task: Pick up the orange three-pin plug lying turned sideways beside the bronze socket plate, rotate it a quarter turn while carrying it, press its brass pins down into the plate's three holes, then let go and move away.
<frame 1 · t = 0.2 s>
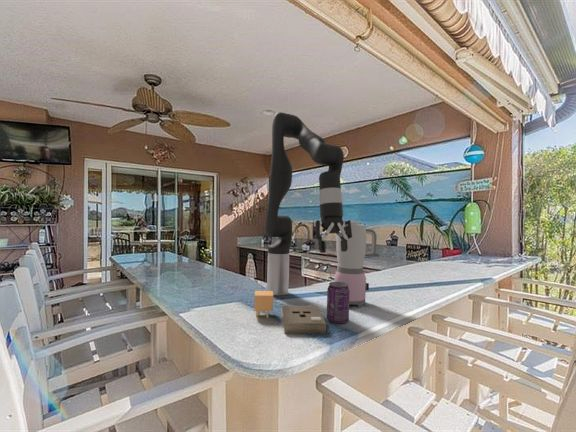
hand: (333, 252, 98), 22 cm above the countertop, tool pointing down, fingers open, 8 cm apart
beverage can: (337, 321, 97), on the countertop
plug: (263, 315, 100), on the countertop
blender: (353, 303, 117), on the countertop
socket plate: (301, 323, 94), on the countertop
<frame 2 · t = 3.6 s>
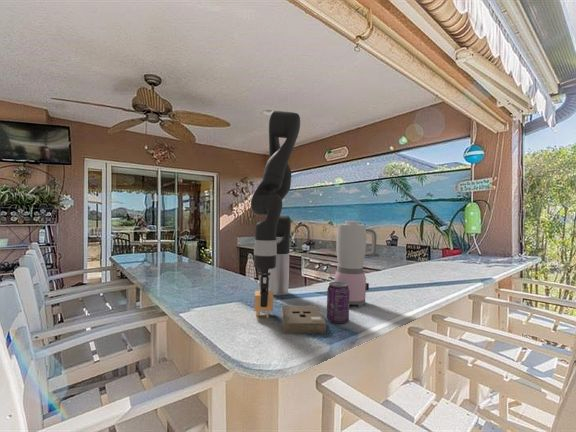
hand: (263, 303, 100), 4 cm above the countertop, tool pointing down, fingers closed on plug, 5 cm apart
plug: (263, 315, 100), on the countertop, touching gripper
everything else where it was.
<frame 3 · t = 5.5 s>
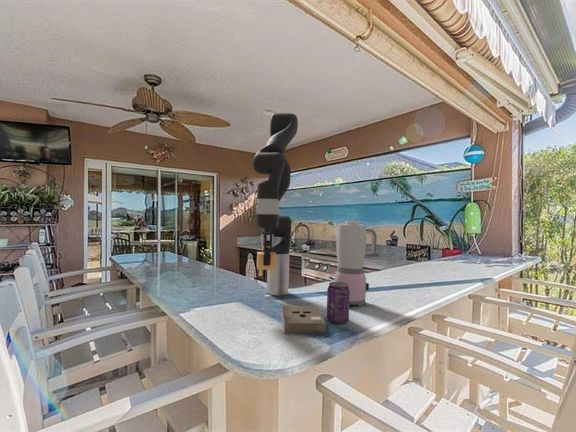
hand: (266, 263, 100), 17 cm above the countertop, tool pointing down, fingers closed on plug, 5 cm apart
plug: (265, 275, 100), point 13 cm above the countertop, touching gripper
everything else where it was.
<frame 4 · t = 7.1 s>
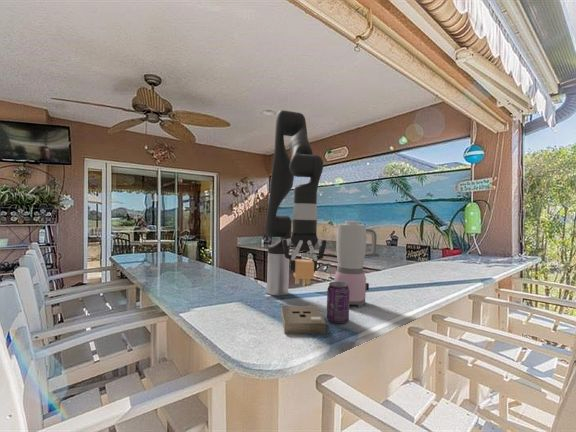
hand: (303, 272, 94), 16 cm above the countertop, tool pointing down, fingers closed on plug, 5 cm apart
plug: (303, 284, 94), point 12 cm above the countertop, touching gripper
everything else where it was.
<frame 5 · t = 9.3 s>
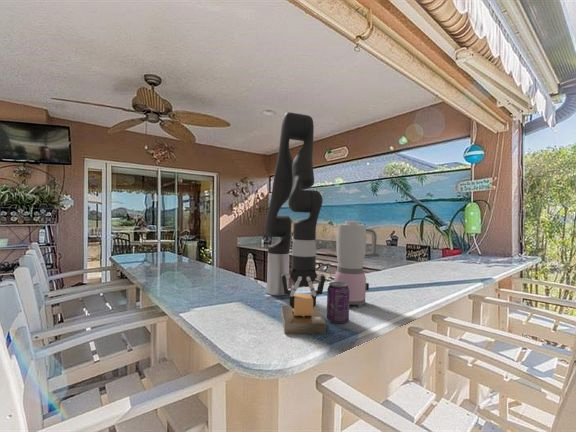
hand: (302, 307, 94), 5 cm above the countertop, tool pointing down, fingers closed on plug, 5 cm apart
plug: (302, 320, 94), point 1 cm above the countertop, touching gripper
everything else where it was.
when the fingers open (4 cm above the countertop, at t = 11.0 s): plug stays where it is, resting on socket plate.
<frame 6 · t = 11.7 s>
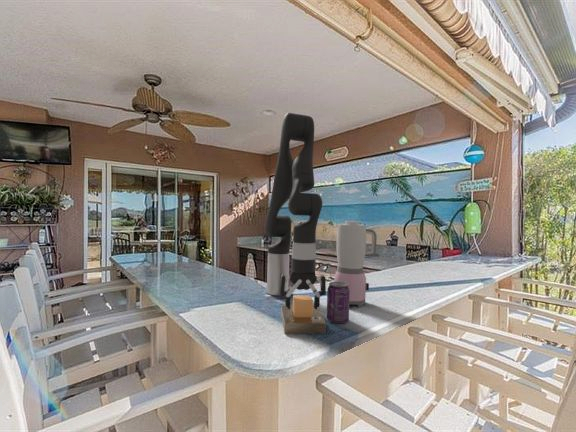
hand: (302, 308, 94), 5 cm above the countertop, tool pointing down, fingers open, 8 cm apart
plug: (302, 321, 94), resting on socket plate
everything else where it was.
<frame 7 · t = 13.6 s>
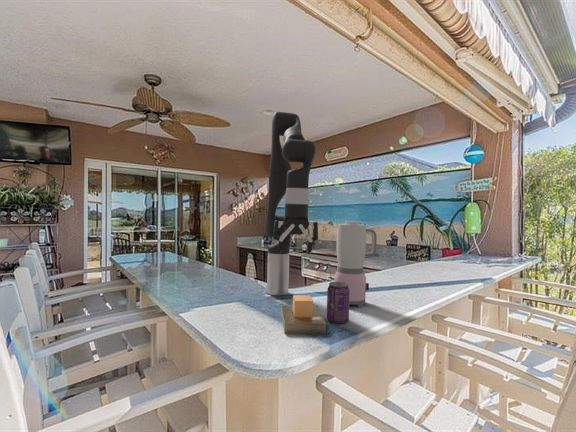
hand: (294, 253, 96), 22 cm above the countertop, tool pointing down, fingers open, 8 cm apart
nothing on the countertop moved.
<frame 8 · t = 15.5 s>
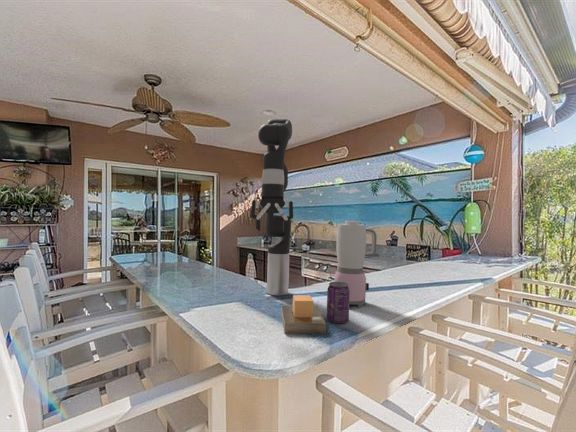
hand: (271, 231, 102), 28 cm above the countertop, tool pointing down, fingers open, 8 cm apart
nothing on the countertop moved.
at the end: plug 0.1 cm off-centre on the socket plate, point 0.5 cm above the socket plate's base; plug tilted 0°; the gripper is holding nothing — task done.
